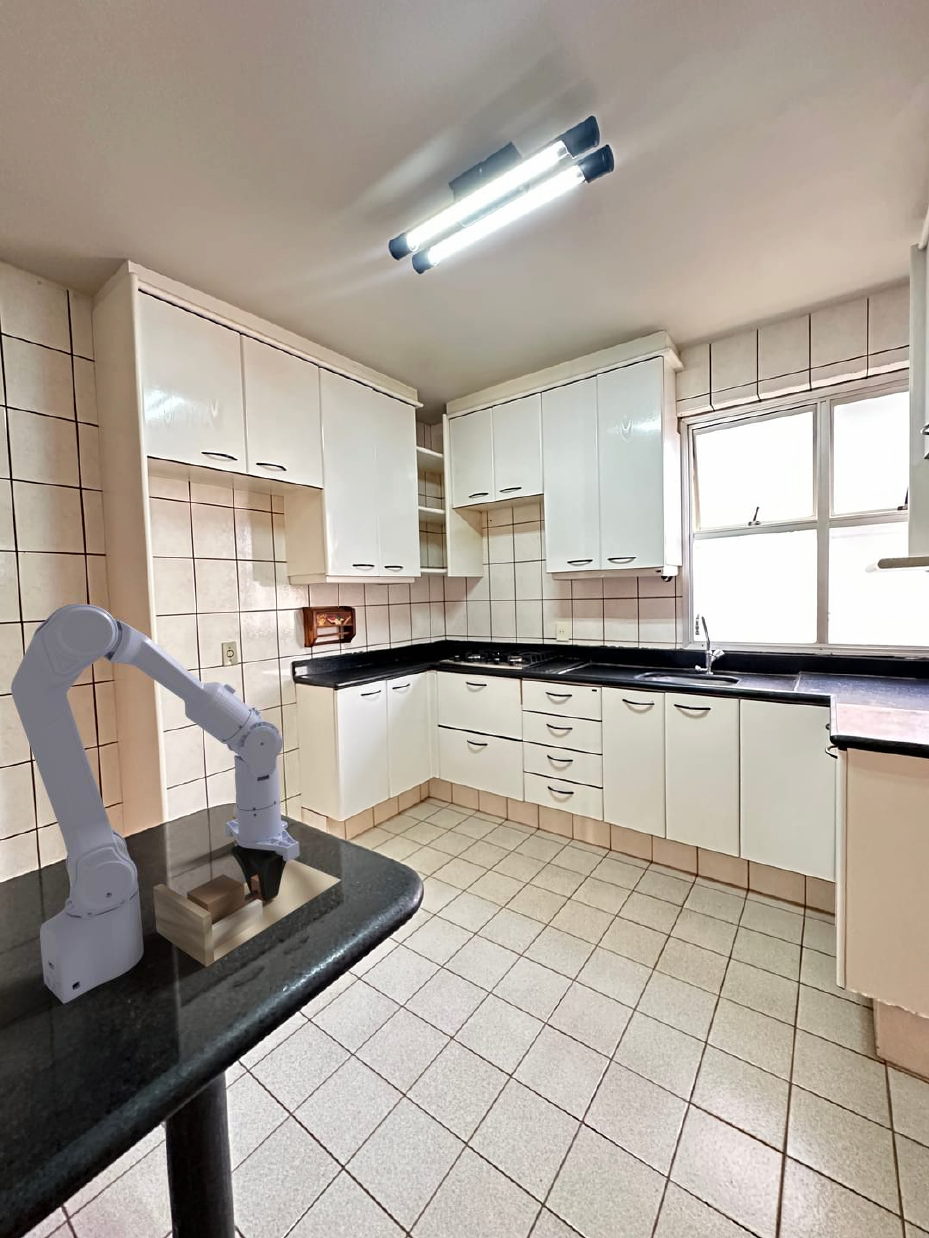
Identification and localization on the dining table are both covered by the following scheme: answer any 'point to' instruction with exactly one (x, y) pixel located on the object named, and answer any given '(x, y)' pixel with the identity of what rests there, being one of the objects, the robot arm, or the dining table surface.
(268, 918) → the shelf lane
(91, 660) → the robot arm
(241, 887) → the walnut block
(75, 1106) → the dining table surface
